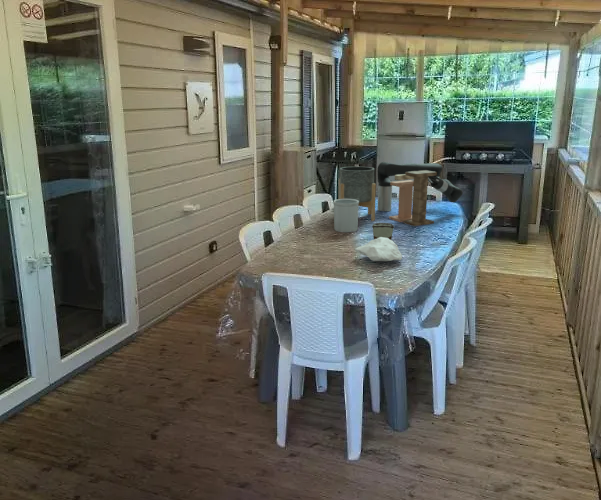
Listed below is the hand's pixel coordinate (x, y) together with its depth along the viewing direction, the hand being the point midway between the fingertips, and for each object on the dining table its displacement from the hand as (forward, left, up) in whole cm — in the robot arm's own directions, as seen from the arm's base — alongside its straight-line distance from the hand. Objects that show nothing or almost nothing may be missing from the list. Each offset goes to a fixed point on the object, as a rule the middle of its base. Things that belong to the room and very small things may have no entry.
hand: (422, 173), depth 353 cm
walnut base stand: (-4, -18, -29) cm, 34 cm away
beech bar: (-6, -4, -3) cm, 8 cm away
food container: (-31, -63, -29) cm, 76 cm away
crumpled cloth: (-36, -96, -29) cm, 106 cm away
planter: (-42, -1, -29) cm, 51 cm away
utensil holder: (-50, -36, -29) cm, 68 cm away
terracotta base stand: (-11, -6, -29) cm, 31 cm away
